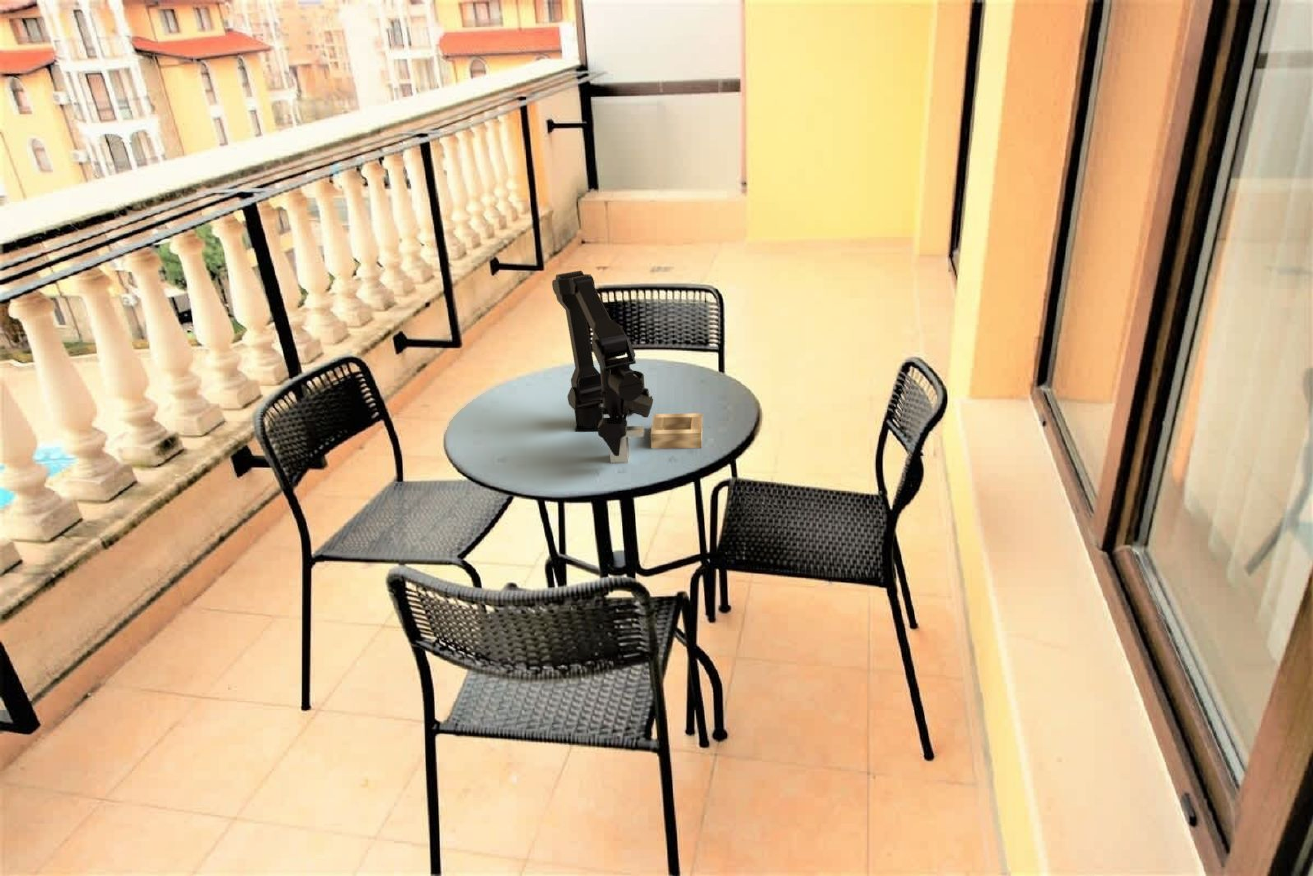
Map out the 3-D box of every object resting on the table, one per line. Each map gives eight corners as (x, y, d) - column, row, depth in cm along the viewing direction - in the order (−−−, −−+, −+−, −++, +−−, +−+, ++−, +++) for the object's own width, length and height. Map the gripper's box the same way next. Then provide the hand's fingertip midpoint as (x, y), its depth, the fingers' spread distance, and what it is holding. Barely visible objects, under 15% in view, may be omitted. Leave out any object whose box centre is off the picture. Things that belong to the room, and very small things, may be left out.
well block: (651, 448, 202) (650, 433, 200) (654, 428, 212) (654, 414, 210) (701, 448, 201) (700, 433, 199) (702, 427, 211) (702, 413, 209)
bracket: (610, 463, 197) (608, 432, 193) (612, 455, 200) (610, 424, 196) (644, 462, 196) (642, 432, 192) (646, 454, 199) (644, 424, 196)
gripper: (645, 401, 181) (650, 465, 188) (652, 368, 197) (656, 428, 204) (594, 402, 182) (600, 465, 189) (605, 369, 198) (611, 428, 205)
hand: (619, 446), depth 197 cm, fingers open, 9 cm apart
